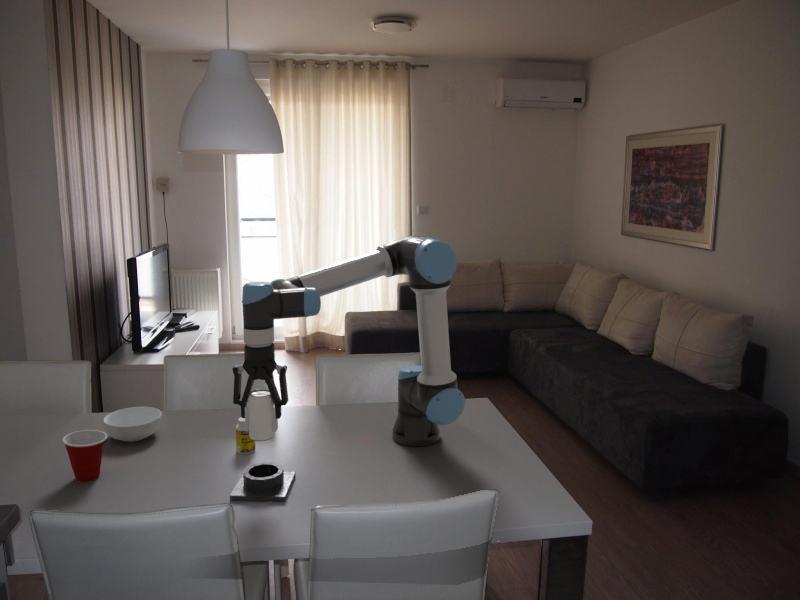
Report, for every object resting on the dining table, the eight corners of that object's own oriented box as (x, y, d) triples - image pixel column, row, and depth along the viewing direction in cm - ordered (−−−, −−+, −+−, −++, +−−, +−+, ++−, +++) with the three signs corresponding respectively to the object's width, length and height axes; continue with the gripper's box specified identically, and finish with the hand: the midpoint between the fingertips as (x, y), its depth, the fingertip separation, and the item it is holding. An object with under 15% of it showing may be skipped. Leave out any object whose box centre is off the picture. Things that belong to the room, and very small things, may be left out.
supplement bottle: (240, 456, 185) (238, 423, 184) (233, 449, 190) (232, 417, 188) (258, 452, 188) (257, 419, 187) (251, 445, 193) (250, 414, 191)
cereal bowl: (92, 442, 195) (90, 420, 193) (133, 423, 210) (132, 403, 209) (135, 451, 188) (133, 429, 187) (174, 431, 204) (172, 410, 202)
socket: (295, 476, 173) (295, 459, 172) (284, 502, 159) (284, 483, 158) (244, 475, 173) (244, 458, 173) (230, 501, 160) (229, 482, 159)
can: (250, 432, 166) (249, 388, 164) (275, 431, 167) (274, 388, 165) (247, 442, 160) (245, 397, 158) (273, 441, 161) (271, 396, 159)
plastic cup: (103, 485, 167) (99, 443, 165) (59, 488, 166) (55, 445, 163) (115, 467, 178) (112, 427, 175) (75, 469, 176) (71, 429, 174)
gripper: (299, 340, 163) (301, 425, 167) (225, 339, 163) (229, 423, 167) (294, 347, 155) (296, 436, 159) (216, 346, 156) (220, 434, 160)
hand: (261, 429), depth 163 cm, fingers closed on can, 6 cm apart
